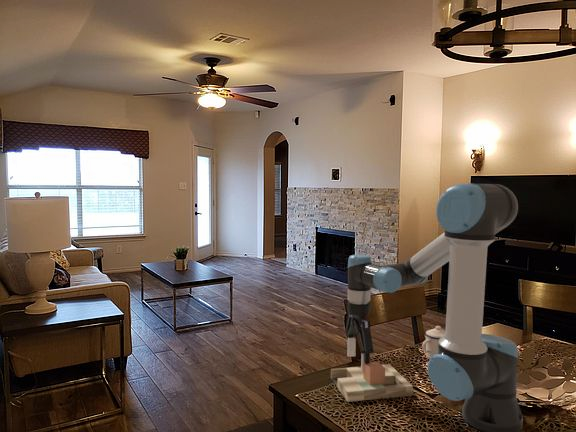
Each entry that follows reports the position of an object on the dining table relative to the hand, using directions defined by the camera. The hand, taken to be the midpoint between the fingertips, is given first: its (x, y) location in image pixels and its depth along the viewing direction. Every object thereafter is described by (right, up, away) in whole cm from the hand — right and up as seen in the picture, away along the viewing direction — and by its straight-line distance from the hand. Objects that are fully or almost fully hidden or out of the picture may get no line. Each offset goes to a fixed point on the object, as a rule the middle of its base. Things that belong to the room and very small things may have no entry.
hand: (358, 363), depth 147 cm
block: (+4, -2, -9) cm, 10 cm away
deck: (+3, -5, -6) cm, 8 cm away
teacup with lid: (+32, -4, +18) cm, 37 cm away
